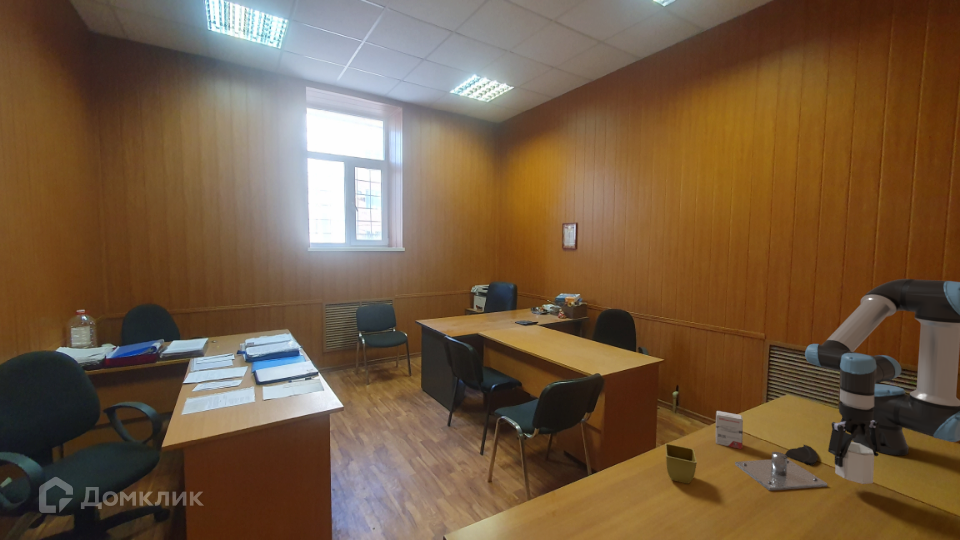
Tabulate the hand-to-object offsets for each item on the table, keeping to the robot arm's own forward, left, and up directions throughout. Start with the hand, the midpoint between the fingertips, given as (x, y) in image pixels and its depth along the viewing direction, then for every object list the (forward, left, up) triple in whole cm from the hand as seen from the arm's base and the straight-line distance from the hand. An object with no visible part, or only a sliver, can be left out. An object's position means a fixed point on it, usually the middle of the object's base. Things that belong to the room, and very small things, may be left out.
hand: (853, 474), depth 116 cm
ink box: (+18, -30, -6) cm, 35 cm away
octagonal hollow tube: (0, 0, 0) cm, 0 cm away
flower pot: (+50, -12, -6) cm, 51 cm away
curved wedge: (-3, -19, -6) cm, 20 cm away
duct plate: (+16, -10, -5) cm, 19 cm away
